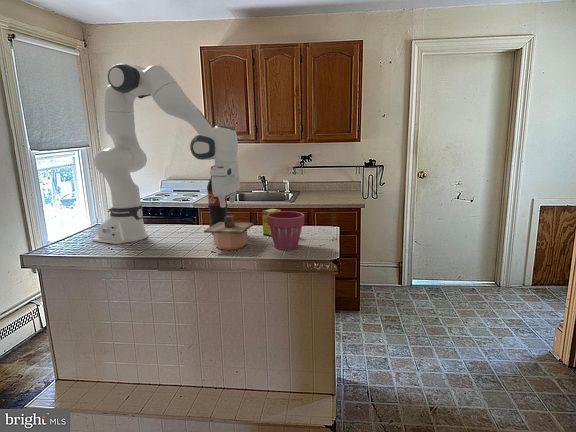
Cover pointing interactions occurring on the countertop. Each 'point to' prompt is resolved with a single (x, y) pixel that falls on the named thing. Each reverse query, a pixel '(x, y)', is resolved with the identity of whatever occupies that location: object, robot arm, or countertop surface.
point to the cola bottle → (215, 206)
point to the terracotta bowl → (230, 240)
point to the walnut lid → (229, 226)
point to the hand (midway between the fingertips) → (227, 205)
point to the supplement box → (265, 226)
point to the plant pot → (285, 228)
